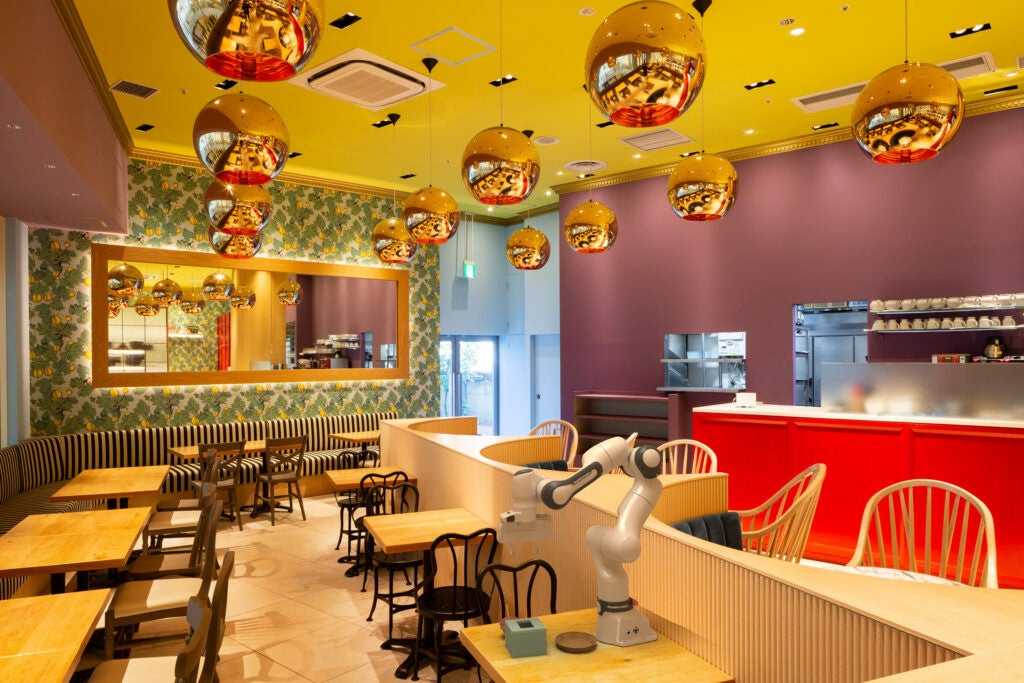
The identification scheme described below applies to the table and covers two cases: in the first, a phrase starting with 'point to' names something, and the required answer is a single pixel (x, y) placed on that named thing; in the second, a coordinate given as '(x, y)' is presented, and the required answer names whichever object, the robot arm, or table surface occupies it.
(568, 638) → the plant saucer
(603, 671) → the table surface
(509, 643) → the coin box
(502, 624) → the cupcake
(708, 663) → the table surface
